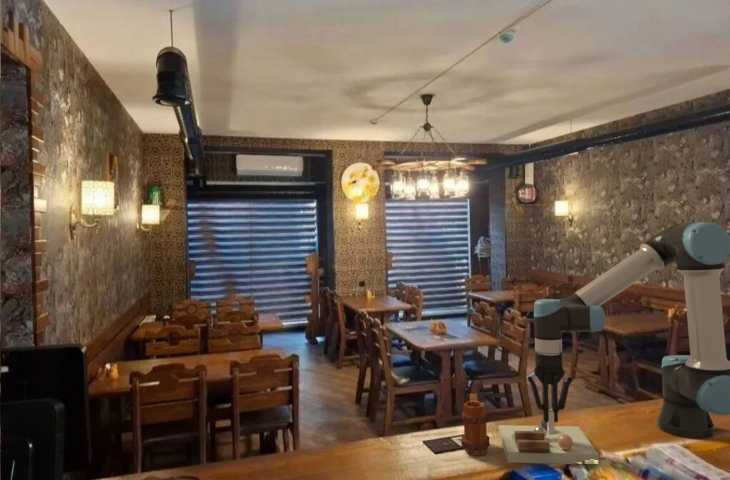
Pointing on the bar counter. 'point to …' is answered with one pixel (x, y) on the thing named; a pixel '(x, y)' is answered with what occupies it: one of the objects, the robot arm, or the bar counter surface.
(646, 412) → the bar counter surface
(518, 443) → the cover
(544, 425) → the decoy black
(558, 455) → the board
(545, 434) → the ball
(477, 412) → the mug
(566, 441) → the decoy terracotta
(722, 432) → the bar counter surface
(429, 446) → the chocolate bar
